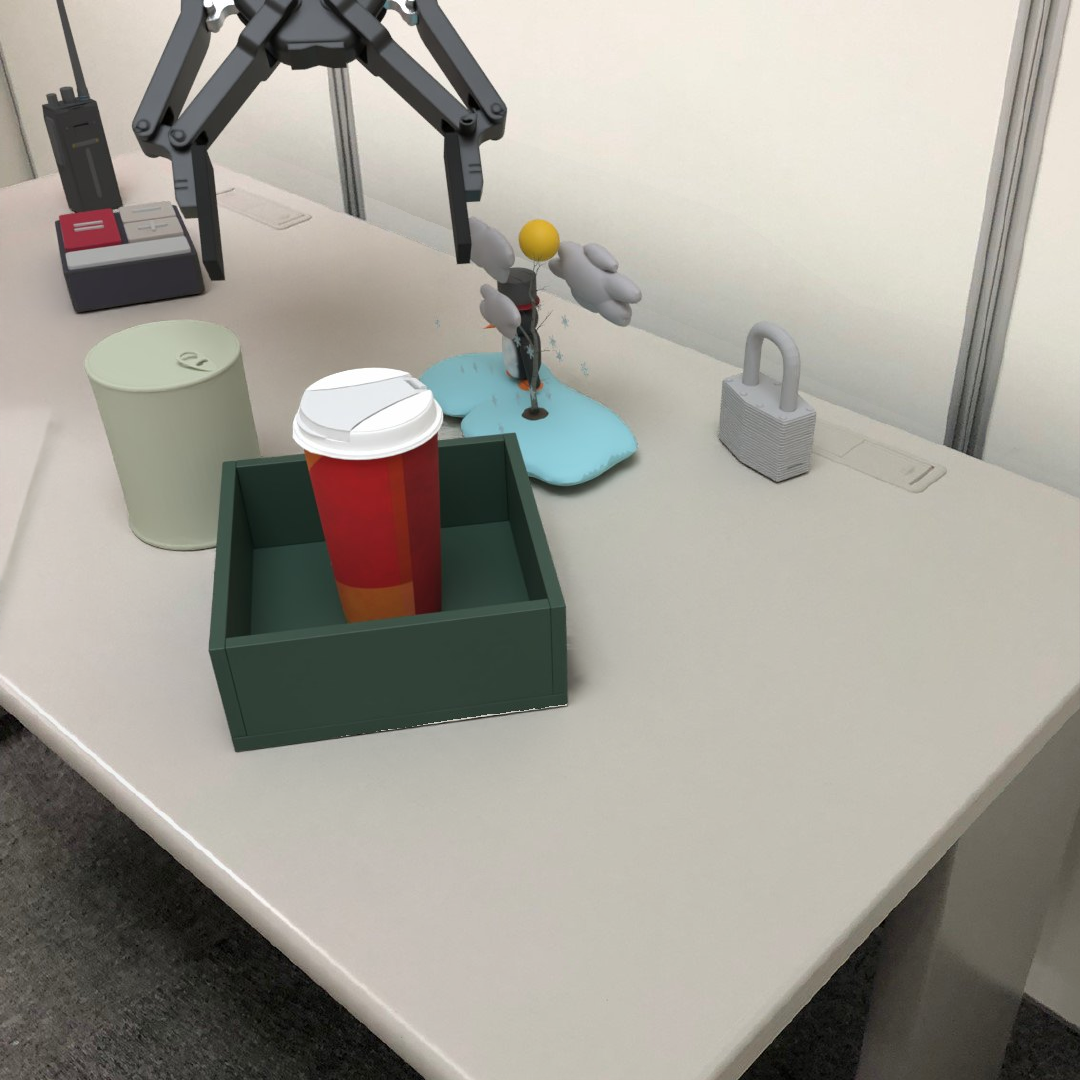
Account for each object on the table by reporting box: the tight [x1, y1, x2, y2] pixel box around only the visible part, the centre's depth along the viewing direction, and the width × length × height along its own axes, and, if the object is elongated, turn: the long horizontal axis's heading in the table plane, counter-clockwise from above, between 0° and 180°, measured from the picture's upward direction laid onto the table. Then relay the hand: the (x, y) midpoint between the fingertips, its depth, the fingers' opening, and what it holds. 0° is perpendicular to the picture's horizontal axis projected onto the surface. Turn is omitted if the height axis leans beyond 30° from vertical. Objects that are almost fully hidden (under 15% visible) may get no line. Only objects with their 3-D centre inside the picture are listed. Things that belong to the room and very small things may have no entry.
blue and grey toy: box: [418, 216, 643, 487], centre depth 84 cm, size 20×11×15 cm, turn 32°
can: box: [83, 319, 263, 551], centre depth 77 cm, size 9×9×12 cm
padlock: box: [717, 320, 818, 483], centre depth 83 cm, size 7×4×10 cm, turn 31°
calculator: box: [54, 200, 206, 313], centre depth 109 cm, size 11×4×15 cm
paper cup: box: [292, 367, 444, 623], centre depth 66 cm, size 8×8×14 cm
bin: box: [207, 433, 569, 753], centre depth 69 cm, size 18×18×7 cm
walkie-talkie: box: [41, 0, 123, 213], centre depth 117 cm, size 5×3×20 cm
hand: (341, 263), depth 67 cm, fingers open, 13 cm apart
